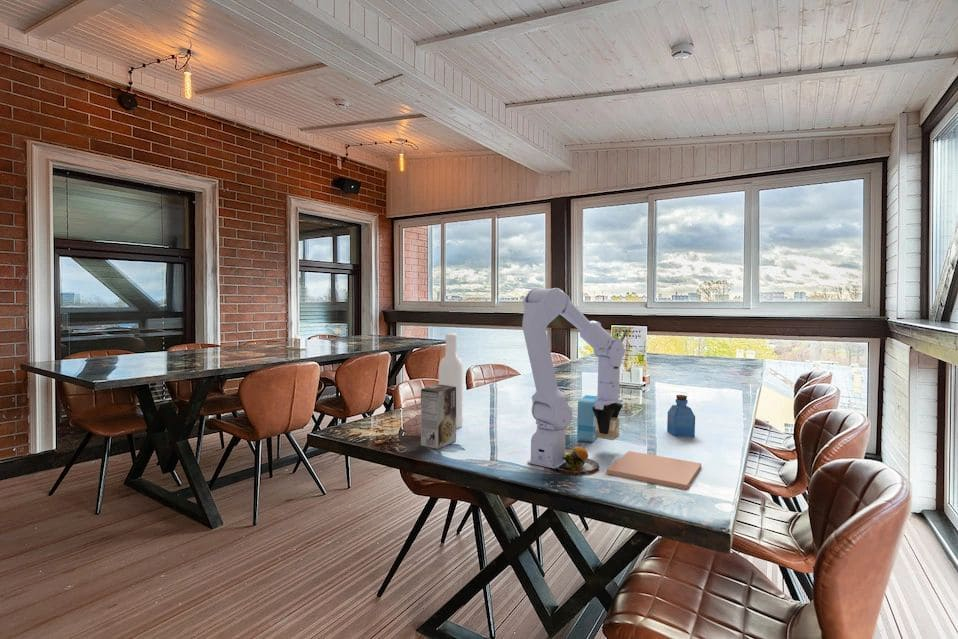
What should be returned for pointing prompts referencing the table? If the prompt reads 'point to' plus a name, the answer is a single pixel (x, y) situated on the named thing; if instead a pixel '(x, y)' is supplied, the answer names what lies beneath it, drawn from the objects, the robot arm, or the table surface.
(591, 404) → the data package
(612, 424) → the birch cube
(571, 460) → the burger
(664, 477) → the terracotta tile
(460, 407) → the bottle
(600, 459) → the table surface
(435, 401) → the coffee box
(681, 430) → the perfume bottle
